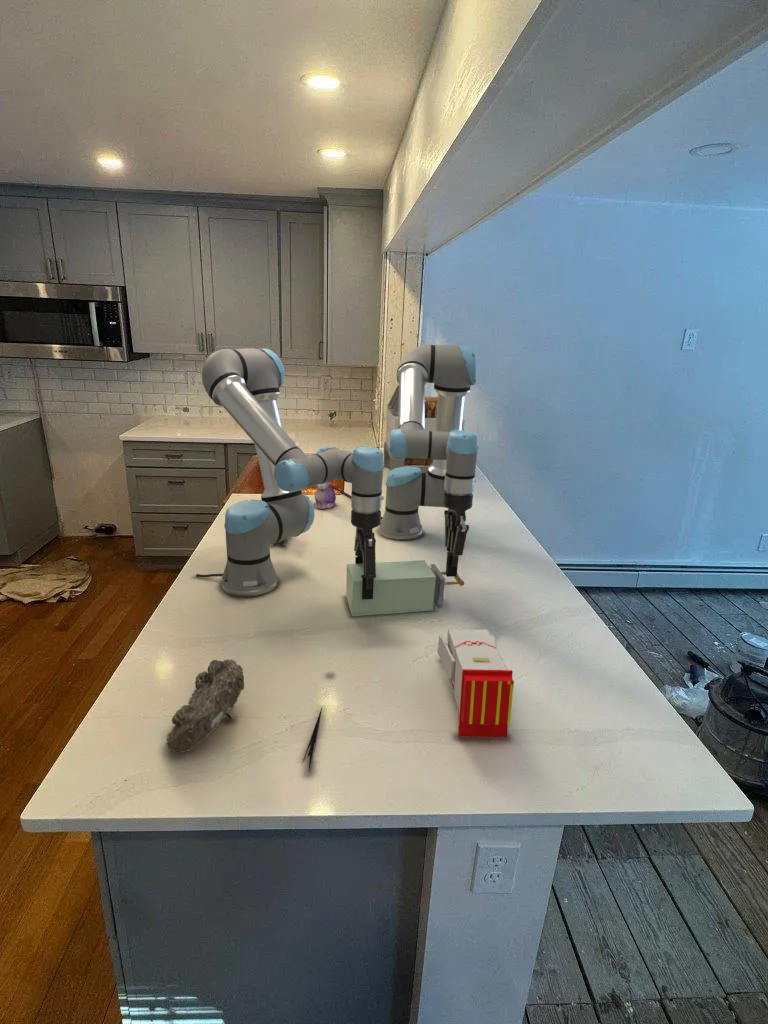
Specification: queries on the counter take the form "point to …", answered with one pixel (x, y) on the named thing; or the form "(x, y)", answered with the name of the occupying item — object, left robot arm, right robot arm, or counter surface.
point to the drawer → (442, 584)
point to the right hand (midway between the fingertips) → (451, 575)
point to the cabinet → (392, 588)
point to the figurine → (324, 496)
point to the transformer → (393, 424)
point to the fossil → (206, 705)
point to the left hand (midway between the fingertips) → (363, 588)
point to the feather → (313, 740)
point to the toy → (478, 682)
